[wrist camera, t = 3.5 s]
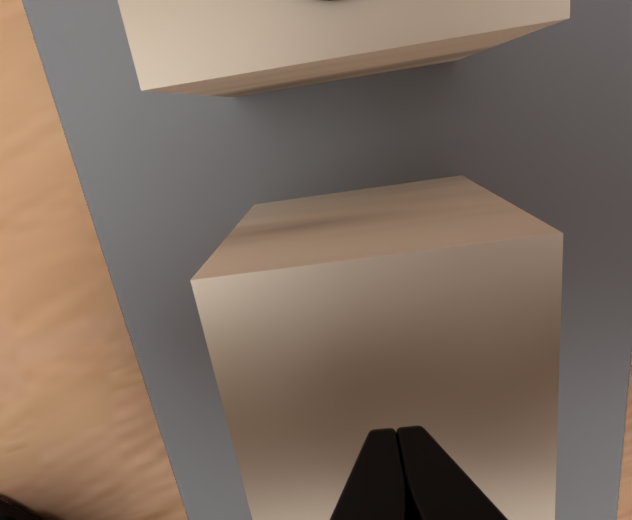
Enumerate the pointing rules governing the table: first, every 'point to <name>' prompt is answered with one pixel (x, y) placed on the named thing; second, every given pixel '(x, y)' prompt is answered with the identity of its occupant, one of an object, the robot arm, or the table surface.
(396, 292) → the plain block
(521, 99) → the grey mat
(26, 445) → the table surface
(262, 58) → the two-pip block
